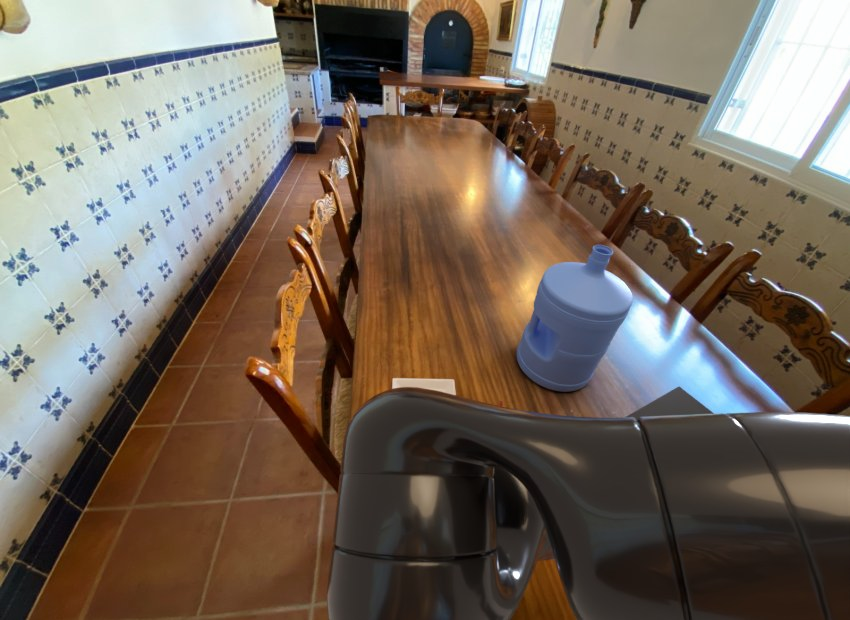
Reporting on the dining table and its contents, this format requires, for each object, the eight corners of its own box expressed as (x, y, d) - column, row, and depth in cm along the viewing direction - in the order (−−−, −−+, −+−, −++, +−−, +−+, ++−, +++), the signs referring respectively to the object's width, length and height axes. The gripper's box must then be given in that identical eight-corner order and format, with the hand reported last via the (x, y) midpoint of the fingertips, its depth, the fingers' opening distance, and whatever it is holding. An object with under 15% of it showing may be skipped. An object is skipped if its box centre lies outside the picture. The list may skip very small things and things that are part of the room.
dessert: (453, 382, 70) (456, 366, 67) (459, 438, 61) (463, 422, 58) (392, 381, 70) (392, 365, 67) (389, 437, 60) (389, 422, 57)
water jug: (587, 348, 81) (645, 237, 63) (592, 403, 69) (665, 286, 51) (518, 331, 83) (554, 220, 65) (511, 381, 72) (553, 263, 54)
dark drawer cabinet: (658, 530, 52) (699, 500, 45) (591, 456, 60) (617, 421, 54) (717, 482, 58) (760, 449, 52) (649, 421, 67) (679, 385, 60)
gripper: (659, 566, 23) (674, 538, 35) (516, 397, 32) (567, 421, 44) (571, 633, 24) (615, 583, 36) (459, 452, 33) (523, 460, 45)
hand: (588, 494), depth 40 cm, fingers open, 8 cm apart
